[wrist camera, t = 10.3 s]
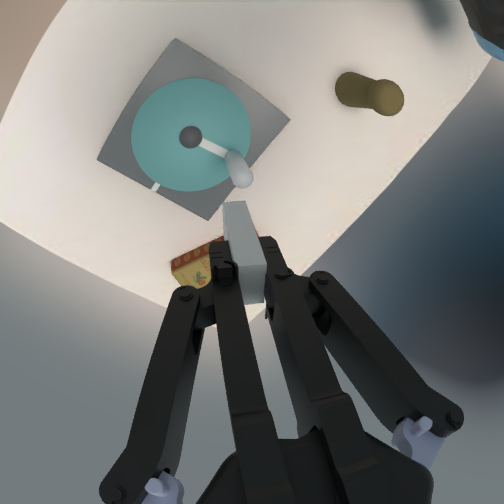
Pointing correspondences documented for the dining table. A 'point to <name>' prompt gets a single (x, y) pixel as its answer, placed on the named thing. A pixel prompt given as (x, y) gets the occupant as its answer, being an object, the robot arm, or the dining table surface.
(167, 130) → the dial
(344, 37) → the dining table surface
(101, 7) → the dining table surface
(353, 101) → the cork
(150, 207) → the dining table surface
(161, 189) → the base plate
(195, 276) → the carton
